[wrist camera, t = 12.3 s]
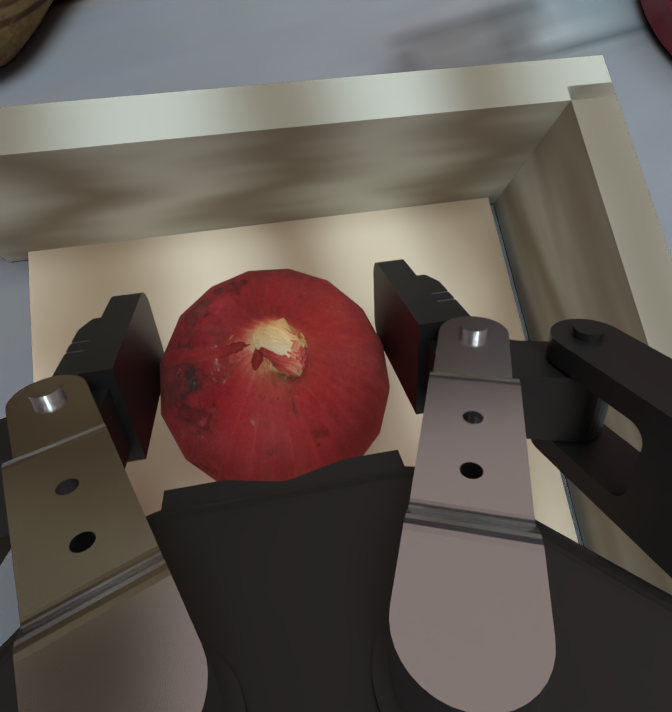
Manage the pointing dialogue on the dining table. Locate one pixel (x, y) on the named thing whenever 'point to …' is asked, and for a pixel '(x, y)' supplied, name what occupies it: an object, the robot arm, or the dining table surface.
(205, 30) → the dining table surface
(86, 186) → the tray
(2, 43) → the ceramic vessel
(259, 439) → the pomegranate
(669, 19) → the canister
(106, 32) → the dining table surface
